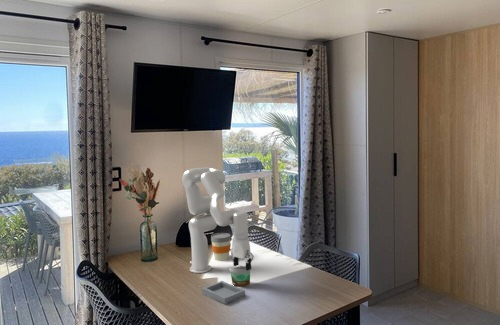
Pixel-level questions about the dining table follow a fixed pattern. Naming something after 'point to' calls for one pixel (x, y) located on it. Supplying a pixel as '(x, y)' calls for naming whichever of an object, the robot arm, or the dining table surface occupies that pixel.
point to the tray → (223, 292)
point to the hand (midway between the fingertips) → (242, 267)
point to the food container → (240, 276)
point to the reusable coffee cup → (221, 246)
